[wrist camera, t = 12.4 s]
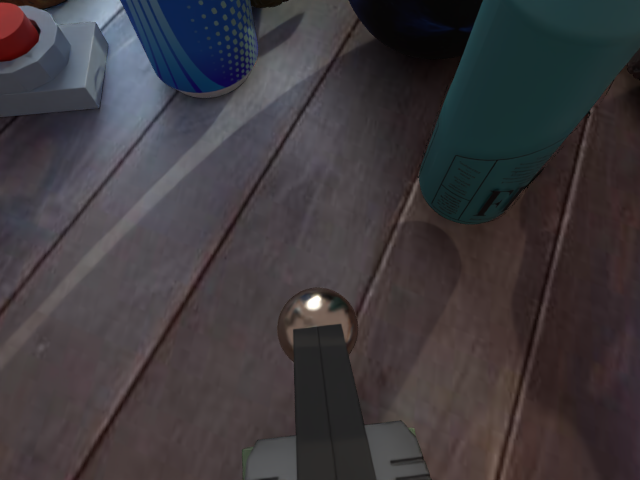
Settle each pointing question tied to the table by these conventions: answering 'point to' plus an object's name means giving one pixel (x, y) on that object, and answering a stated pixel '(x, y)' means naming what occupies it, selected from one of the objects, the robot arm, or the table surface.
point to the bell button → (15, 33)
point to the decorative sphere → (420, 25)
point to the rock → (635, 65)
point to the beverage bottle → (521, 97)
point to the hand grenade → (266, 3)
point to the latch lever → (316, 316)
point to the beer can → (197, 42)
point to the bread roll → (34, 3)
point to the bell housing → (55, 69)
